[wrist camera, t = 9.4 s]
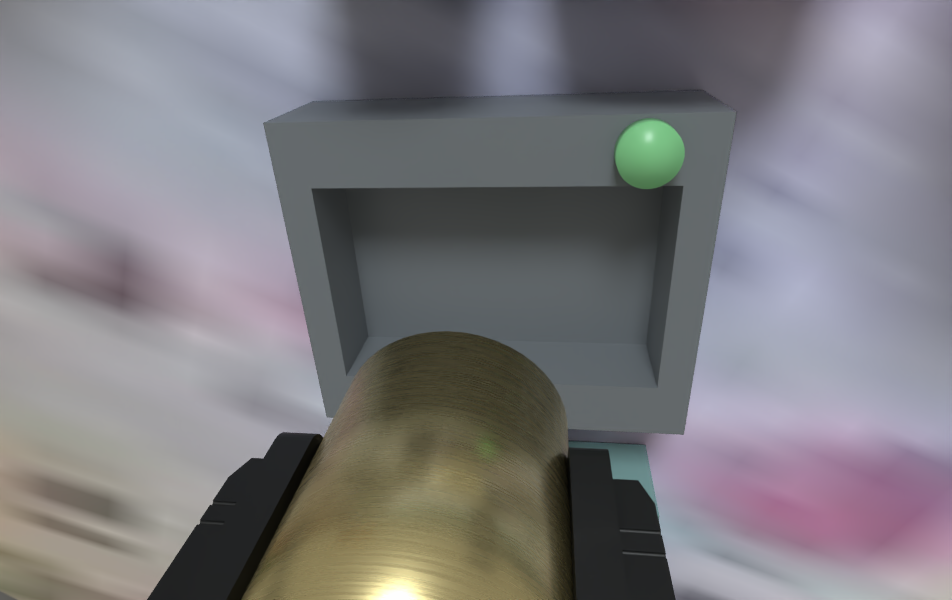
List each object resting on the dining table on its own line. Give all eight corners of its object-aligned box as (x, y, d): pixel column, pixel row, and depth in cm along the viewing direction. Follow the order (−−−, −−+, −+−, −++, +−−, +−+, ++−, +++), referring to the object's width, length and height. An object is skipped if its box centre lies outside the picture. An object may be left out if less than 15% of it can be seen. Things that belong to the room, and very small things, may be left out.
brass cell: (329, 327, 11) (22, 798, 5) (572, 334, 11) (612, 876, 4) (361, 499, 14) (183, 983, 7) (563, 512, 13) (580, 1049, 6)
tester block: (357, 360, 23) (320, 428, 19) (312, 101, 18) (252, 127, 15) (665, 371, 21) (687, 447, 18) (703, 90, 17) (743, 115, 13)
